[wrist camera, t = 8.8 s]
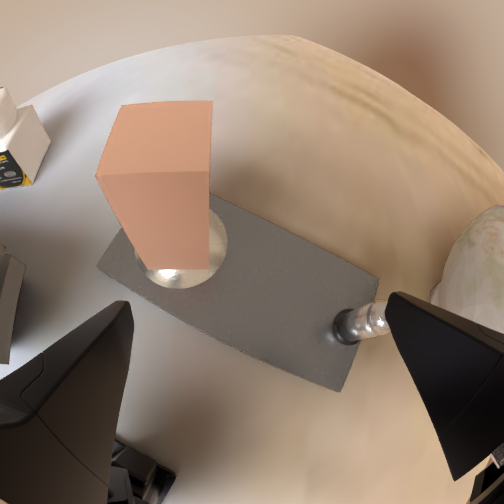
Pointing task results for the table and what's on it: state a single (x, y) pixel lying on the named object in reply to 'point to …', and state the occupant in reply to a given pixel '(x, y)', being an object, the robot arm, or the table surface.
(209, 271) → the drilled plate
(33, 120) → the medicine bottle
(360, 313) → the steel pin
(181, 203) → the post
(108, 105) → the table surface
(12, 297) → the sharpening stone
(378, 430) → the table surface
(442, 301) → the ceramic pitcher
